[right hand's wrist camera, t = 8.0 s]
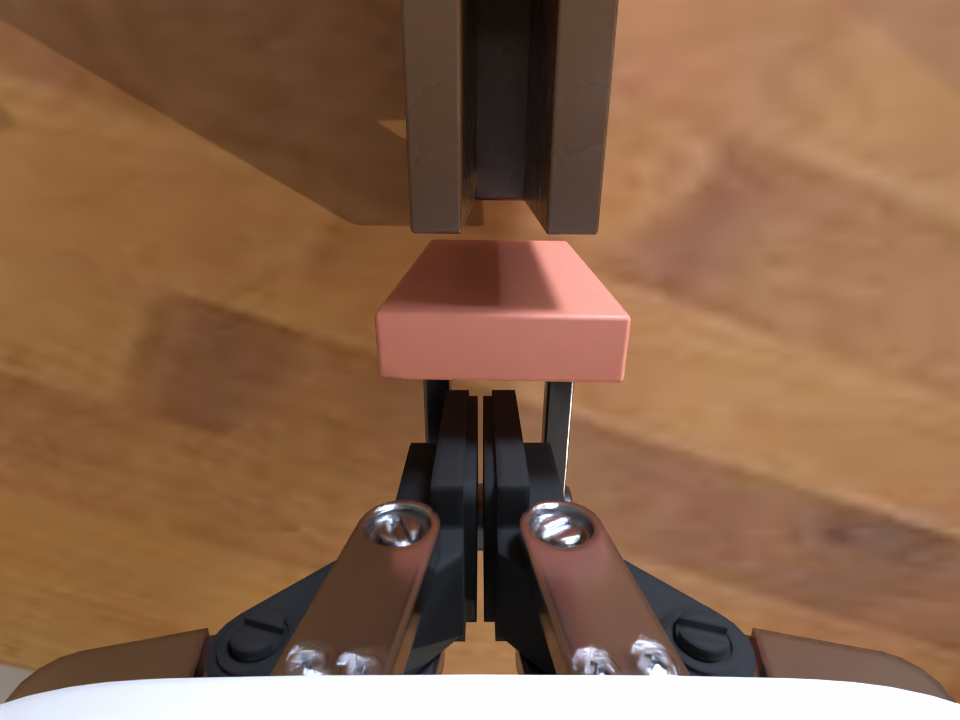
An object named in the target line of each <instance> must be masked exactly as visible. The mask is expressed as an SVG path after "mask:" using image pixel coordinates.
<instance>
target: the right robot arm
mask: <svg viewBox="0 0 960 720" xmlns="http://www.w3.org/2000/svg"><path fill="white" fill-rule="evenodd" d="M477 534H478V396H469V390H446V393H445V399H444V406H443V412H442V418H441V424H440V431H439V437H438V443H411V445H410V447H409V451H408V455H407V459H406V463H405V467H404V471H403V474H402V478H401V482H400V486H399V490H398V494H397V498H396V501H391V502H386V503H383V504H381V505H378V506H376V507H374V508H372V509H371V510H370V511H368V512H367V513H365V515H364V516H363V517H362V518H361V519H360V521H359V522H358V524H357V526H356V527H355V529H354V531H353V532H352V534H351V536H350V538H349V539H348V541H347V543H346V545H345V546H344V548H343V550H342V551H341V553H340V555H339V557H338V558H337V560H336V561H334V562H332V563H330V564H328V565H327V566H325V567H323V568H321V569H320V570H318V571H316V572H314V573H312V574H311V575H309V576H307V577H305V578H304V579H302V580H300V581H298V582H296V583H295V584H293V585H291V586H289V587H288V588H286V589H284V590H282V591H280V592H279V593H277V594H275V595H273V596H272V597H270V598H268V599H266V600H265V601H263V602H261V603H259V604H257V605H256V606H254V607H252V608H250V609H249V610H247V611H245V612H243V613H241V614H240V615H238V616H237V617H235V618H234V619H233V620H231V621H230V622H228V623H227V624H226V625H225V626H224V627H223V628H222V629H221V630H220V631H219V632H218V633H217V634H216V635H212V636H210V635H209V631H208V628H204V629H199V630H193V631H188V632H182V633H177V634H172V635H166V636H161V637H155V638H150V639H144V640H139V641H133V642H128V643H122V644H117V645H112V646H106V647H101V648H95V649H90V650H84V651H79V652H76V653H72V654H69V655H66V656H63V657H60V658H58V659H56V660H54V661H52V662H50V663H48V664H46V665H45V666H43V667H41V668H39V669H38V670H37V671H35V672H34V673H33V674H31V675H30V676H29V677H28V678H26V679H25V680H24V681H22V682H21V683H20V684H19V686H18V687H17V688H16V689H15V690H14V691H13V693H12V694H11V695H10V696H9V697H8V699H7V700H6V702H5V703H3V704H0V720H960V704H957V703H956V702H955V701H954V699H953V698H952V697H951V695H950V694H949V693H948V692H947V691H946V690H945V688H944V687H943V686H942V685H941V684H940V683H939V682H938V681H937V680H936V679H934V678H933V677H932V676H930V675H929V674H928V673H927V672H925V671H924V670H923V669H921V668H920V667H918V666H916V665H914V664H912V663H910V662H908V661H906V660H905V659H903V658H901V657H898V656H894V655H891V654H888V653H884V652H881V651H876V650H870V649H865V648H859V647H854V646H849V645H843V644H838V643H832V642H827V641H821V640H816V639H811V638H805V637H800V636H794V635H789V634H783V633H778V632H773V631H767V630H762V629H756V628H753V630H752V634H751V636H749V635H744V633H743V632H742V631H741V630H740V629H739V628H738V627H737V626H736V625H735V624H734V623H732V622H731V621H729V620H728V619H727V618H725V617H724V616H722V615H721V614H719V613H717V612H716V611H714V610H712V609H710V608H709V607H707V606H705V605H703V604H702V603H700V602H698V601H696V600H694V599H693V598H691V597H689V596H687V595H686V594H684V593H682V592H680V591H678V590H677V589H675V588H673V587H671V586H670V585H668V584H666V583H664V582H663V581H661V580H659V579H657V578H655V577H654V576H652V575H650V574H648V573H647V572H645V571H643V570H641V569H639V568H638V567H636V566H634V565H632V564H631V563H629V562H627V561H625V560H624V559H623V558H622V557H621V555H620V553H619V551H618V550H617V548H616V546H615V545H614V543H613V541H612V539H611V538H610V536H609V534H608V532H607V531H606V529H605V527H604V526H603V524H602V522H601V521H600V519H599V518H598V517H597V516H596V515H595V513H593V512H592V511H590V510H589V509H588V508H586V507H584V506H582V505H579V504H577V503H574V502H569V501H565V499H564V495H563V491H562V487H561V483H560V479H559V475H558V471H557V468H556V464H555V460H554V456H553V452H552V448H551V445H550V443H523V438H522V432H521V425H520V419H519V413H518V407H517V400H516V394H515V390H492V396H483V559H484V622H495V639H496V641H507V642H508V643H509V644H511V645H512V646H513V647H514V648H516V652H515V658H516V668H517V672H518V675H442V672H443V668H444V658H445V652H444V649H445V648H447V647H448V646H449V645H450V644H452V643H453V642H454V641H465V630H466V622H477Z"/></svg>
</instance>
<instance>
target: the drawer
mask: <svg viewBox="0 0 960 720" xmlns="http://www.w3.org/2000/svg"><path fill="white" fill-rule="evenodd" d="M618 1H619V0H401V13H402V36H403V60H404V83H405V106H406V130H407V153H408V177H409V200H410V223H411V231H412V232H413V233H435V234H459V233H461V231H462V229H463V227H464V225H465V222H466V220H467V218H468V216H469V213H470V211H471V209H472V207H473V205H474V202H475V200H525V202H526V203H527V205H528V206H529V208H530V209H531V211H532V212H533V214H534V215H535V217H536V218H537V220H538V221H539V223H540V224H541V226H542V227H543V228H544V230H545V231H546V233H547V234H549V235H595V234H597V232H598V225H599V214H600V203H601V191H602V180H603V169H604V158H605V147H606V136H607V124H608V113H609V102H610V91H611V80H612V68H613V57H614V46H615V35H616V24H617V13H618ZM630 322H631V320H630V316H629V315H628V314H627V313H626V312H625V310H624V309H623V308H622V307H621V306H620V304H619V303H618V302H617V301H616V300H615V299H614V297H613V296H612V295H611V294H610V293H609V291H608V290H607V289H606V288H605V287H604V285H603V284H602V283H601V282H600V281H599V280H598V278H597V277H596V276H595V275H594V274H593V272H592V271H591V270H590V269H589V268H588V267H587V265H586V264H585V263H584V262H583V261H582V259H581V258H580V257H579V256H578V255H577V254H576V252H575V251H574V250H573V249H572V248H571V246H570V245H569V244H568V243H567V242H566V241H508V240H432V241H431V242H430V243H429V244H428V246H427V247H426V248H425V249H424V251H423V252H422V253H421V255H420V256H419V257H418V259H417V260H416V261H415V263H414V264H413V265H412V267H411V268H410V269H409V270H408V272H407V273H406V274H405V276H404V277H403V278H402V280H401V281H400V282H399V284H398V285H397V286H396V288H395V289H394V290H393V291H392V293H391V294H390V295H389V297H388V298H387V299H386V301H385V302H384V303H383V305H382V306H381V307H380V309H379V310H378V311H377V312H376V315H375V325H376V339H377V353H378V367H379V375H380V377H381V378H383V379H423V384H424V410H425V437H426V443H438V437H439V431H440V424H441V418H442V412H443V406H444V399H445V393H446V390H452V382H451V380H492V381H545V388H544V406H543V423H542V440H541V443H550V445H551V448H552V452H553V456H554V460H555V464H556V468H557V471H558V475H559V479H560V483H561V487H562V491H563V495H564V499H565V501H569V502H572V496H571V492H570V489H569V487H568V486H566V474H567V461H568V449H569V437H570V424H571V412H572V400H573V387H574V382H611V383H619V382H622V380H623V378H624V372H625V364H626V355H627V347H628V339H629V331H630ZM477 551H483V484H479V483H478V534H477Z"/></svg>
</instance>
